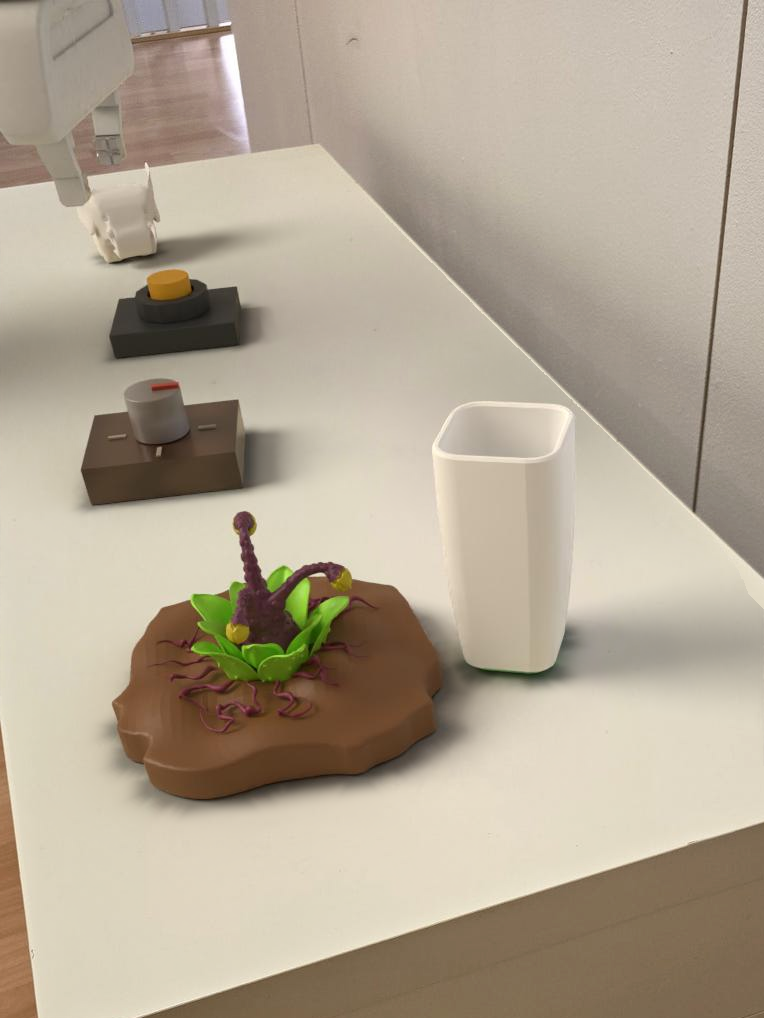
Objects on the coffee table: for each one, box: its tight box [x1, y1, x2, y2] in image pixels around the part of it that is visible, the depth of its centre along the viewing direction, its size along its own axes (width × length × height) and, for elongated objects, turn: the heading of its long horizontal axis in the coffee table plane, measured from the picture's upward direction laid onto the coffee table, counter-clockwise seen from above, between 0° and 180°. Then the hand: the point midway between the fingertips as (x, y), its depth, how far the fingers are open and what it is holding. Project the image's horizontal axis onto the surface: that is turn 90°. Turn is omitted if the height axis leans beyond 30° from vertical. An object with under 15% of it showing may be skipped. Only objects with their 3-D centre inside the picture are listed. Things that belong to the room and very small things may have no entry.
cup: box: [431, 400, 576, 675], centre depth 73 cm, size 7×7×15 cm
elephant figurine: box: [75, 162, 161, 263], centre depth 136 cm, size 10×12×9 cm
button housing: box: [108, 278, 242, 359], centre depth 120 cm, size 12×10×4 cm
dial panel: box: [80, 398, 246, 506], centre depth 99 cm, size 12×10×3 cm
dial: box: [123, 378, 189, 444], centre depth 97 cm, size 4×4×4 cm
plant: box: [111, 510, 443, 800], centre depth 73 cm, size 20×20×11 cm
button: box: [146, 269, 192, 300], centre depth 119 cm, size 4×4×2 cm
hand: (96, 182), depth 86 cm, fingers open, 8 cm apart
